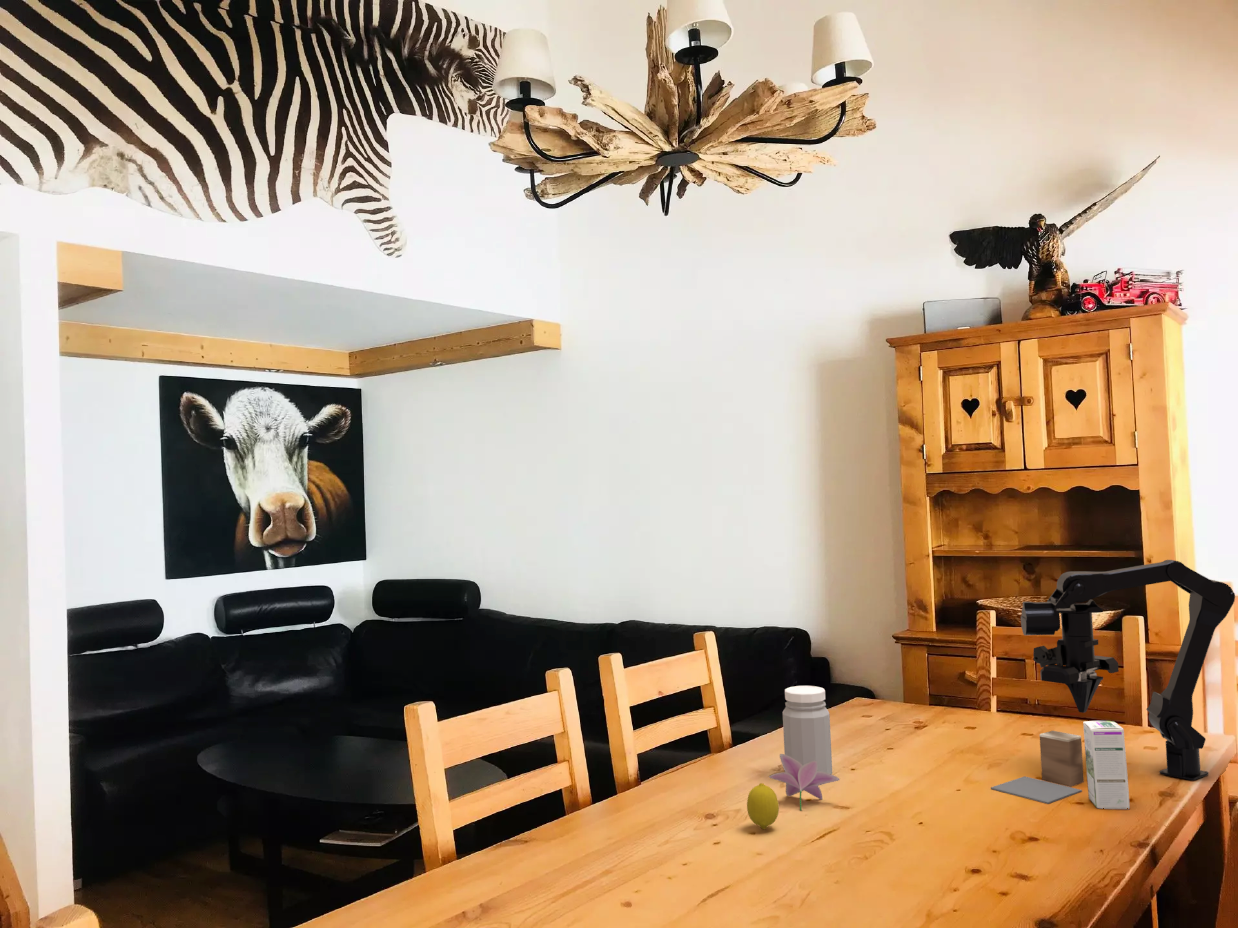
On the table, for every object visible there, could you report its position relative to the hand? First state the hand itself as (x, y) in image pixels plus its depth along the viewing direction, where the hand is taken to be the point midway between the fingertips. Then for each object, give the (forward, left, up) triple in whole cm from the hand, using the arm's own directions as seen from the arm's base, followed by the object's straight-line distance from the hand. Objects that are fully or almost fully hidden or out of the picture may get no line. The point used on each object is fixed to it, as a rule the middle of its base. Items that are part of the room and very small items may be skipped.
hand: (1082, 712), depth 194 cm
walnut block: (+8, 0, -12) cm, 15 cm away
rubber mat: (+17, 0, -12) cm, 21 cm away
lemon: (+71, -18, -12) cm, 74 cm away
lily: (+55, -24, -13) cm, 61 cm away
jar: (+43, -35, -12) cm, 56 cm away
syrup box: (+15, +13, -12) cm, 23 cm away
